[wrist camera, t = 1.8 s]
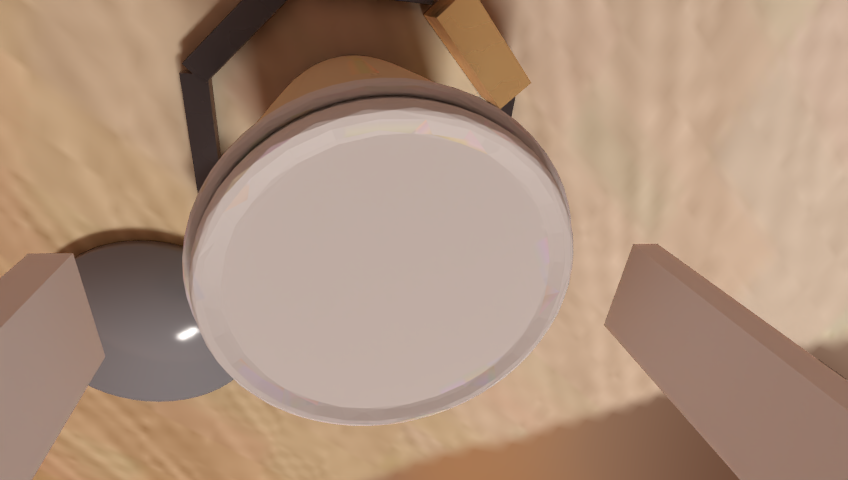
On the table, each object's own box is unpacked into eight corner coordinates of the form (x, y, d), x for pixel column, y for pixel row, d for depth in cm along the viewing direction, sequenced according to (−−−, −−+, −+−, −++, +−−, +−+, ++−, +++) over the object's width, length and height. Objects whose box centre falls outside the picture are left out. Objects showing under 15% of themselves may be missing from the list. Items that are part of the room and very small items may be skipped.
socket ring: (163, -60, 15) (138, -67, 13) (530, -11, 19) (557, -12, 16) (214, 274, 22) (202, 305, 20) (477, 267, 25) (492, 293, 23)
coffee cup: (403, 255, 24) (465, 454, 14) (223, 193, 20) (124, 401, 10) (491, 95, 20) (663, 199, 10) (296, -14, 17) (259, -21, 7)
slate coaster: (11, 241, 19) (2, 248, 19) (253, 239, 21) (251, 245, 21) (74, 400, 24) (69, 409, 23) (267, 385, 26) (265, 392, 26)
